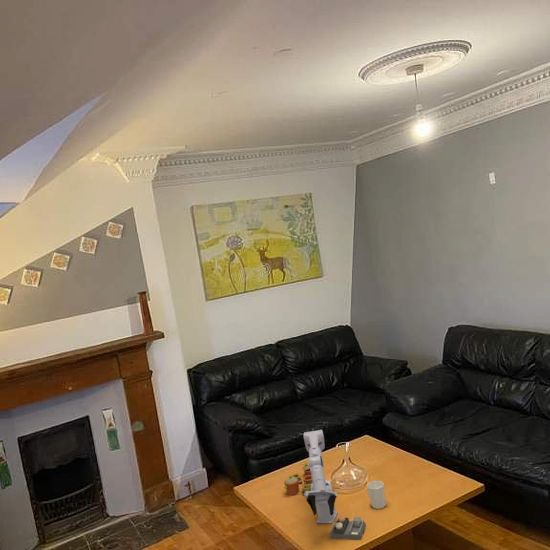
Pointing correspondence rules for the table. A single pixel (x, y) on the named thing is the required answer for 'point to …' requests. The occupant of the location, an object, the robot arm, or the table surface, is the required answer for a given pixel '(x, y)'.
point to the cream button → (339, 526)
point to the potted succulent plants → (295, 479)
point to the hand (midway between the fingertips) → (323, 514)
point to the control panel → (348, 530)
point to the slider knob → (357, 521)
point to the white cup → (376, 494)
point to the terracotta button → (342, 519)
